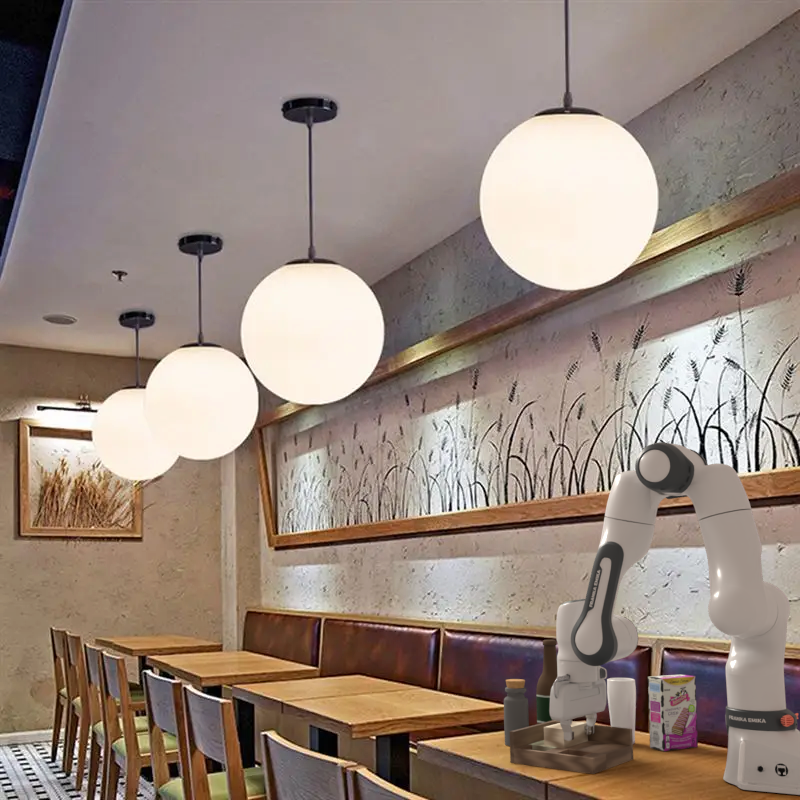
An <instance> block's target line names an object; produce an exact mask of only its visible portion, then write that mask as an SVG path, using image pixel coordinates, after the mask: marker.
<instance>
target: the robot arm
mask: <svg viewBox="0 0 800 800" xmlns="http://www.w3.org/2000/svg"><path fill="white" fill-rule="evenodd" d="M634 465H635V466H634V469H635V470H625V471H622V472H620V473H619V474H617V475H616V477H615V478H614V479H613V483H612V486H611V488H610V491H609V495H608V499H607V502H606V507H605V513H604V518H603V525H602V530H601V536H600V541H599V545H598V548H597V552H596V554H595V558H594V561H593V566H592V569H591V573H590V577H589V582H588V585H587V590H586V595H585V598H579V599H572V600H569V601H564V602H562V603H561V604H560V605H559V606H558V608H557V613H556V621H555V622H556V623H555V624H556V625H555V627H556V628H555V630H556V631H555V634H556V637H555V640H556V643H557V646H558V649H557V650H558V652H557V654H556V655H557V674H558V677H557V678H556V680H555V682H554V684H553V686H552V688H551V693H550V717H551V719H552V720H557V721H560V725H561V727H562V730H563V732H564V740H567V741H571V740H573V739H574V732H573V731H572V729H571V725H570V724H572V721H573V719H574V720H575V719H577V718H581V717H585V718H586V721H585V722H586V726H584V729H585V731H584V733H585V734H589V735H591V734H594V725H596V721H597V717H598V715H597V713H600V712H604V711H605V710H606V707H607V681H606V680H607V679H608V671H607V669H606V668H605V667H603V665H605V664H607V663H609V662H613V661H618V660H620V659H624V658H627V657H629V656H631V655H632V654H634V653H635V650H636V649H637V647H638V643H639V633H638V629H637V627H636V626H635V624H634V623H633V622H632V621H631V620H630V619H629V618H627V617H625V616H622V615H619V614H616V613H615V608H616V607H615V606H616V603H617V599H618V593H619V590H620V585H621V581H622V579H623V578H624V575H625V574H626V573H627V572H628V571H629V570H630V568H631V567H633V566H634V565H635V564H637V563H638V562H639V561H641V560H642V559H644V557H645V556H646V555H647V554H648V553H649V550H650V548H651V545H652V542H653V539H654V533H655V528H656V527H655V526H656V520H657V513H658V509H659V505H660V503H661V502H662V501H663V500H664V499H668V500H671V499H679V498H685V497H686V498H687V497H688V498H689V499H690V501H691V502H692V504H693V507H694V511H695V514H696V518H697V521H698V525H699V529H700V534H701V537H702V541H703V545H704V550H705V553H706V557H707V564H708V578H709V593H710V598H709V601H708V607H707V608H708V610H707V612H708V616H709V620H710V621H711V623H712V625H713V627H715V628H716V629H717V630H718V631H720V632H722V633H724V634H725V635H727V636H730V637H731V641H730V648H729V652H728V658H727V660H726V664H725V682H726V685H725V686H726V698H727V705H726V706H725V715H724V717H725V728H726V734H727V736H728V737H727V756H726V763H725V768H724V773H723V777H722V779H723V781H725V782H727V783H729V784H731V785H734V786H736V787H738V788H739V789H741V790H744V791H754V792H755V791H756V792H765V793H766V792H767V793H777V794H787V795H797V796H800V730H799V729H797V728H798V720H799V713H798V712H796V713H794V712H793V711H792V710H790V709H789V708H787V703H786V688H785V687H786V685H785V673H784V672H785V656H786V655H785V654H786V653H785V652H786V644H787V633H788V620H789V618H790V613H791V604H790V600H789V598H788V596H787V595H786V593H785V592H784V591H783V590H782V589H780V588H779V587H777V586H776V585H775V584H772V583H771V582H768V581H765V580H764V577H763V567H762V565H763V564H762V552H763V551H762V550H763V544H762V542H761V538H760V534H759V530H758V526H757V524H756V520H755V516H754V513H753V510H752V507H751V503H750V501H749V497H748V494H747V492H746V490H745V487H744V485H743V483H742V481H741V478H740V476H739V474H738V473H737V471H736V470H735V469H734V468H733V467H732V466H731V465H728V464H725V463H711V464H708V463H707V461H706V458H704V457H703V455H701V454H700V452H698V451H695V450H694V449H690V448H687V447H685V446H684V445H682V444H676V443H668V442H664V441H660V442H655V443H654V442H653V443H651V444H649V445H647V446H645V447H644V448H643V449H642V450H641V451H640V452H639V453H638V455H637V457H636V460H635V464H634ZM557 681H558V682H557Z"/></svg>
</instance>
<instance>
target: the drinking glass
mask: <svg viewBox="0 0 800 800" xmlns="http://www.w3.org/2000/svg"><path fill="white" fill-rule="evenodd" d="M636 688H637V687H636V679H634V678H631V677H610V678H606V697H607V704H608V705H607V706H608V711H609V719H610V720H609V721H610V726H611V727H621V728H630V729H632V739H633V745H634V744H635V743H636V735H635V734H636V732H635V731H636V708H637V705H636V703H637V689H636Z"/></svg>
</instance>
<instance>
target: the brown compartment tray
mask: <svg viewBox="0 0 800 800" xmlns="http://www.w3.org/2000/svg"><path fill="white" fill-rule="evenodd" d="M557 723H560V721H555V720H552V721H548V722H544V723H540V724H537V723H536V724H532V725H529V727H525V728H521V729H517V730H513V731H510V746H509V752H510V753H509V758H510V761H509V762H510V763H512V764H519V765H527V766H532V767H533V766H535V767H542V768H547V769H554V770H562V771H568V772H576V773H577V772H578V773H582V774H584V773H585V774H591V775H595V774H597V773H600V772H603V771H605V770H609V769H611V768H613V767H616V766H619V765H622V764H624V763H627V762H630V761H633V760H634V744H633V739H632V729H630V728H621V727H611V725H600V724H595V725H594V734H591V735H589V734H588V741H587V742H583V743H580V744H577V745H574V746H570V747H567V748H557V747H549V746H544V727H546V726H550V725H554V724H557Z"/></svg>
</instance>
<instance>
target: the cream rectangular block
mask: <svg viewBox="0 0 800 800" xmlns="http://www.w3.org/2000/svg"><path fill="white" fill-rule="evenodd" d="M570 725H571V729H572V731H573V732H574V739H573V740H571V741H567V740H564V732H563V730H562V727H561V725H560V723H557V724H554V725H550V726H546V727H544V746H549V747H557V748H567V747H570V746H574V745H577V744H580V743H583V742H587V741H588V734H585V733H584V731H585V729H584V726H586V721H585V722H584V721H575V720H574V721H573V720H572V724H570Z"/></svg>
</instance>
